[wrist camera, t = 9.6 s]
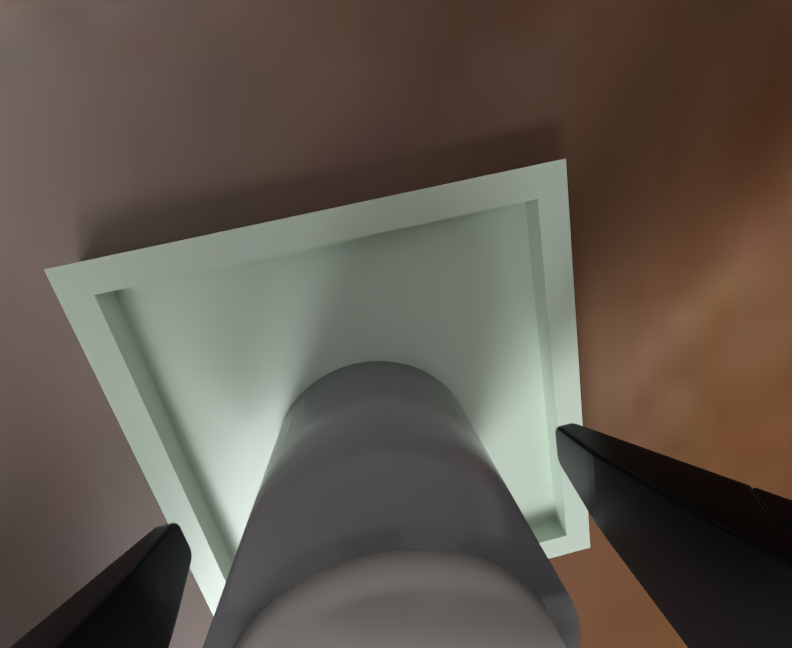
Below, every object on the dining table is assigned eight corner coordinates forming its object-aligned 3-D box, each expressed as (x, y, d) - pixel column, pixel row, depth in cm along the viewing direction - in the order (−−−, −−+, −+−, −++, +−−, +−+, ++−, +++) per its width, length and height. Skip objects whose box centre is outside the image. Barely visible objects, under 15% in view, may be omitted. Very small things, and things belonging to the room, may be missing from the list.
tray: (237, 609, 13) (227, 644, 12) (78, 263, 9) (43, 269, 8) (572, 522, 14) (590, 547, 13) (543, 164, 10) (565, 158, 9)
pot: (305, 546, 12) (252, 897, 6) (252, 385, 10) (96, 638, 4) (479, 504, 12) (607, 795, 6) (456, 342, 11) (600, 515, 4)
